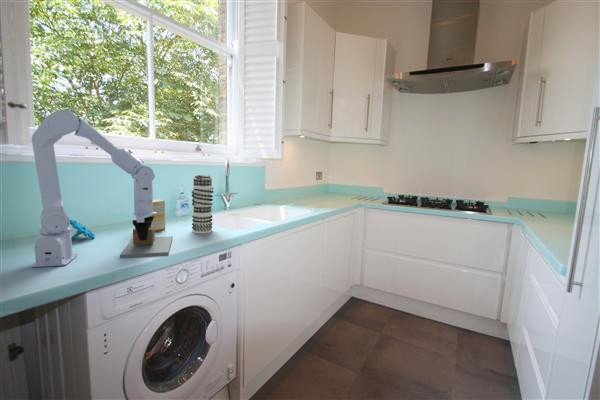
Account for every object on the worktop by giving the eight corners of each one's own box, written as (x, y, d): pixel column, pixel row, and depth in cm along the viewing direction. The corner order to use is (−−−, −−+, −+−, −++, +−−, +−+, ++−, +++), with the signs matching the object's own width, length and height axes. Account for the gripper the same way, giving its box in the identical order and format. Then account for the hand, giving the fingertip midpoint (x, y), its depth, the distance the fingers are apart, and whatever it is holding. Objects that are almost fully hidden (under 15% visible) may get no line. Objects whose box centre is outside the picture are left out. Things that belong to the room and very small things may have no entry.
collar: (152, 243, 101) (152, 229, 101) (133, 244, 99) (132, 230, 99) (154, 239, 106) (154, 226, 105) (136, 240, 104) (135, 226, 103)
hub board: (168, 255, 97) (168, 240, 96) (119, 257, 92) (119, 242, 91) (172, 238, 115) (172, 226, 114) (132, 240, 110) (132, 227, 110)
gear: (93, 237, 106) (69, 219, 102) (79, 250, 104) (54, 231, 101) (99, 234, 116) (76, 217, 112) (86, 245, 114) (63, 228, 110)
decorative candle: (217, 231, 130) (217, 175, 126) (197, 234, 123) (197, 175, 119) (206, 227, 136) (207, 174, 132) (187, 230, 129) (187, 174, 126)
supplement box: (159, 227, 131) (158, 199, 129) (165, 229, 129) (165, 200, 127) (141, 231, 124) (140, 200, 122) (147, 233, 121) (147, 202, 120)
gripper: (153, 203, 95) (154, 243, 97) (158, 197, 109) (159, 232, 111) (129, 203, 93) (130, 244, 95) (137, 197, 106) (138, 233, 108)
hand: (144, 238), depth 102 cm, fingers closed on collar, 5 cm apart
